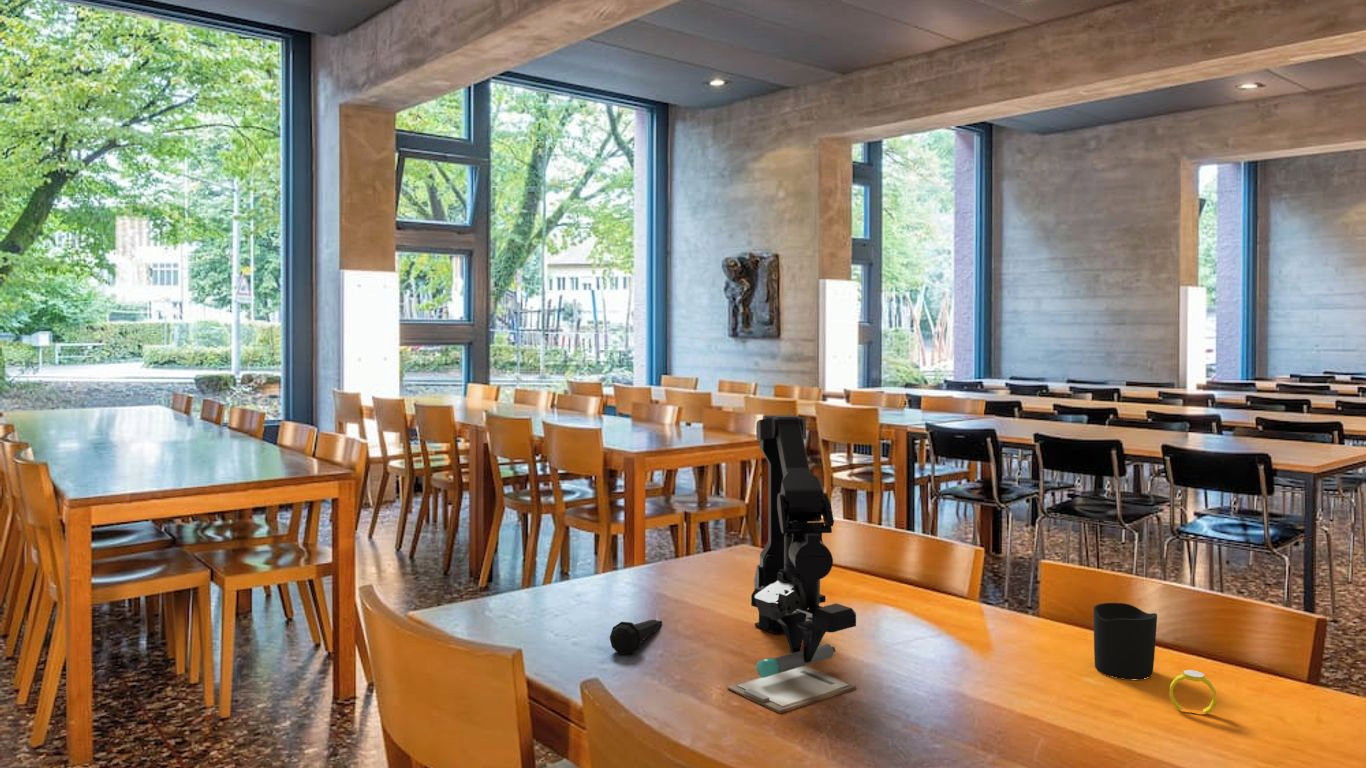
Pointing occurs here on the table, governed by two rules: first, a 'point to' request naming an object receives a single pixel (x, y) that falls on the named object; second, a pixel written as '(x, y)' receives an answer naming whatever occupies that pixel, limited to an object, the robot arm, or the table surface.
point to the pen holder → (1124, 640)
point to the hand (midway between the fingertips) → (801, 659)
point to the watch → (1194, 677)
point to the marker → (792, 661)
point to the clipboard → (791, 688)
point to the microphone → (631, 635)
